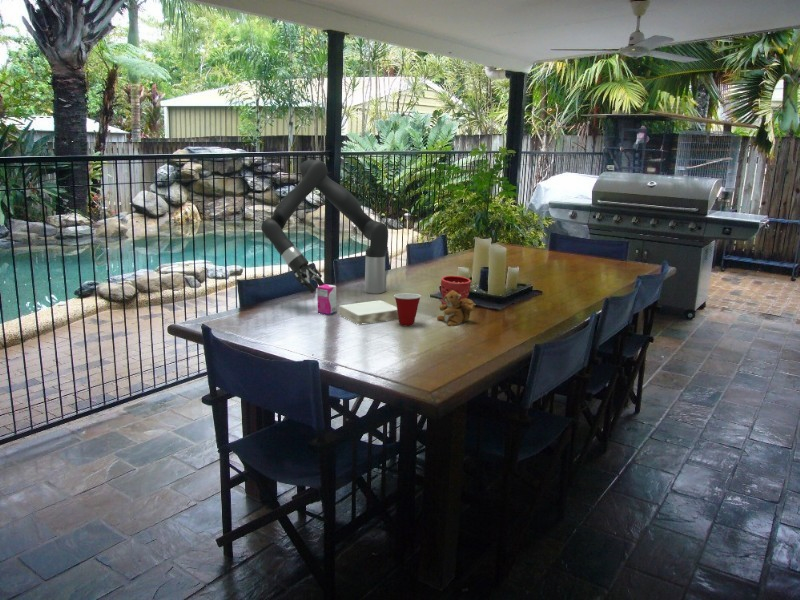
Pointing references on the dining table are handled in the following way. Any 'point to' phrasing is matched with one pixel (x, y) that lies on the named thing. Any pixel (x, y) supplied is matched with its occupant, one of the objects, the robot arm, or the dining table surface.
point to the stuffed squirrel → (456, 309)
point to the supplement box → (326, 299)
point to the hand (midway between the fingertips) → (319, 289)
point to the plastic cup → (407, 307)
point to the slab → (369, 312)
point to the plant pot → (455, 286)
